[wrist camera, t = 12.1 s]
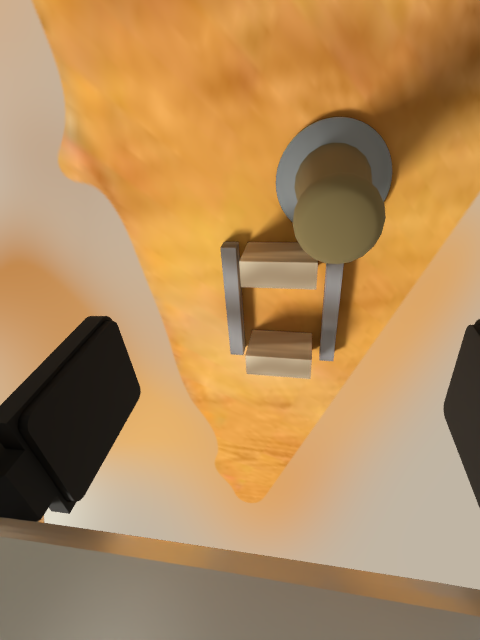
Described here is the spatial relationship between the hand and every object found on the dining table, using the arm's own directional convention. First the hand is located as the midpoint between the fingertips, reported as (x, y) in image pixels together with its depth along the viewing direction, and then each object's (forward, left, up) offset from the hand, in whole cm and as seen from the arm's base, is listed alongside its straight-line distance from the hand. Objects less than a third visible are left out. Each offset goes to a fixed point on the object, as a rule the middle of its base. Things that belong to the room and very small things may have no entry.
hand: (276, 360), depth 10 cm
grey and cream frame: (+12, -2, -23) cm, 26 cm away
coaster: (0, +2, -23) cm, 23 cm away
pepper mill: (0, +2, -23) cm, 23 cm away
